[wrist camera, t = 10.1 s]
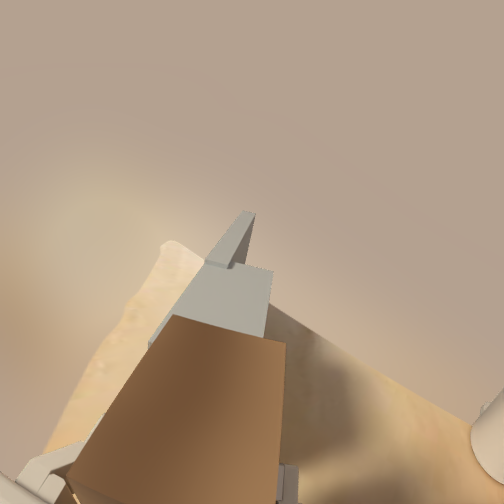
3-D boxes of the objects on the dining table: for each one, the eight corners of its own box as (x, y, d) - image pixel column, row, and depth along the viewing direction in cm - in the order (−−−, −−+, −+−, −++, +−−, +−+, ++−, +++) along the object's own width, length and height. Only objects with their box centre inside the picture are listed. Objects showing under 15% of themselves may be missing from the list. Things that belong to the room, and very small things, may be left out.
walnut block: (237, 473, 13) (286, 342, 10) (212, 588, 7) (271, 540, 4) (162, 453, 14) (172, 313, 11) (117, 560, 7) (65, 475, 4)
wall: (259, 306, 52) (281, 219, 47) (219, 491, 20) (259, 365, 15) (225, 298, 53) (242, 210, 48) (150, 471, 20) (148, 335, 16)
